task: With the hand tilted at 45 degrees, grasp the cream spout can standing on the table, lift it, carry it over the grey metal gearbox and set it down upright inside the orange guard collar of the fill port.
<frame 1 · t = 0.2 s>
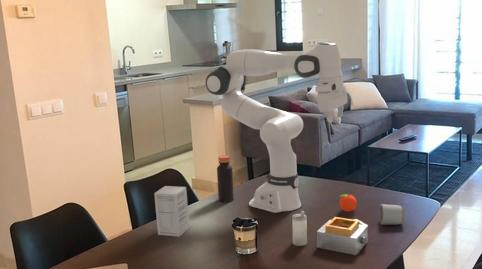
hand: (335, 119, 205), 39 cm above the table, tool pointing down, fingers open, 8 cm apart
supplement box: (173, 231, 203), on the table
gearbox: (342, 244, 185), on the table
cell phone: (344, 228, 201), on the table
bottle: (226, 200, 236), on the table
ceramic mug: (389, 223, 203), on the table
clementine: (346, 211, 216), on the table
spout can: (299, 242, 188), on the table
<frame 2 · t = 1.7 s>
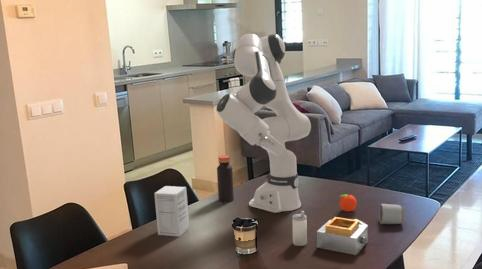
hand: (285, 158, 182), 31 cm above the table, tool tilted 45°, fingers open, 8 cm apart
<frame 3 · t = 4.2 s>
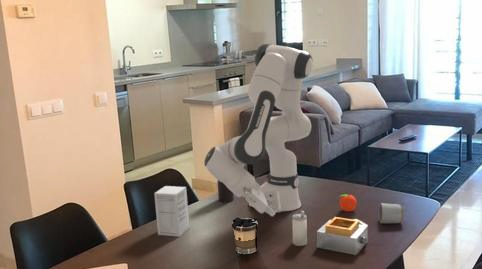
hand: (272, 209, 184), 13 cm above the table, tool tilted 45°, fingers open, 8 cm apart
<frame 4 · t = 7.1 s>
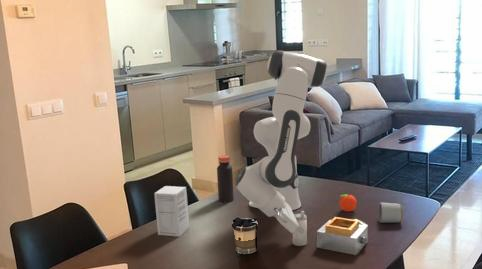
hand: (301, 228, 186), 5 cm above the table, tool tilted 45°, fingers closed on spout can, 5 cm apart
spout can: (299, 242, 188), on the table, touching gripper
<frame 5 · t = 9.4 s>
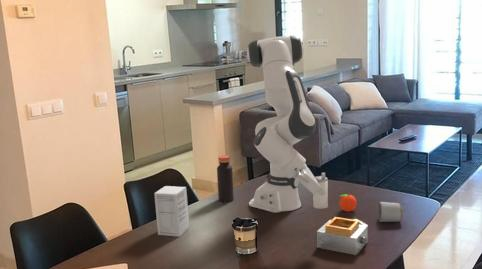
hand: (322, 191, 182), 20 cm above the table, tool tilted 45°, fingers closed on spout can, 5 cm apart
spout can: (320, 206, 183), point 14 cm above the table, touching gripper
when the fingers open (13 cm above the table, at t = 11.8 s): spout can drops 1 cm, resting on gearbox.
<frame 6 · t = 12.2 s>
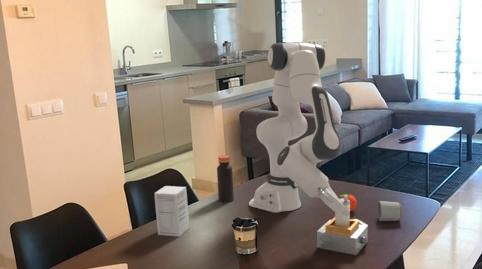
hand: (344, 209, 182), 13 cm above the table, tool tilted 45°, fingers open, 8 cm apart
spout can: (342, 228, 183), point 6 cm above the table, touching gearbox
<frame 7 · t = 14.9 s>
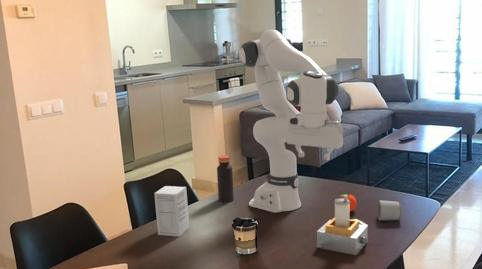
hand: (314, 158, 182), 30 cm above the table, tool pointing down, fingers open, 8 cm apart
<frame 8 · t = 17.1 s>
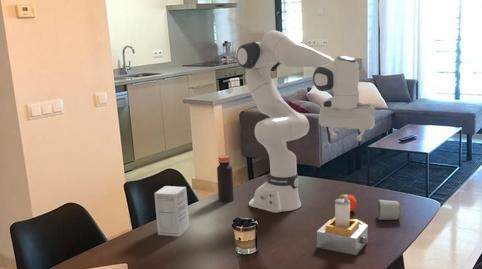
hand: (346, 139, 192), 34 cm above the table, tool pointing down, fingers open, 8 cm apart
at the end: spout can 0.1 cm off-centre on the gearbox, point 6.1 cm above the gearbox's base; spout can tilted 1°; the gripper is holding nothing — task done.
